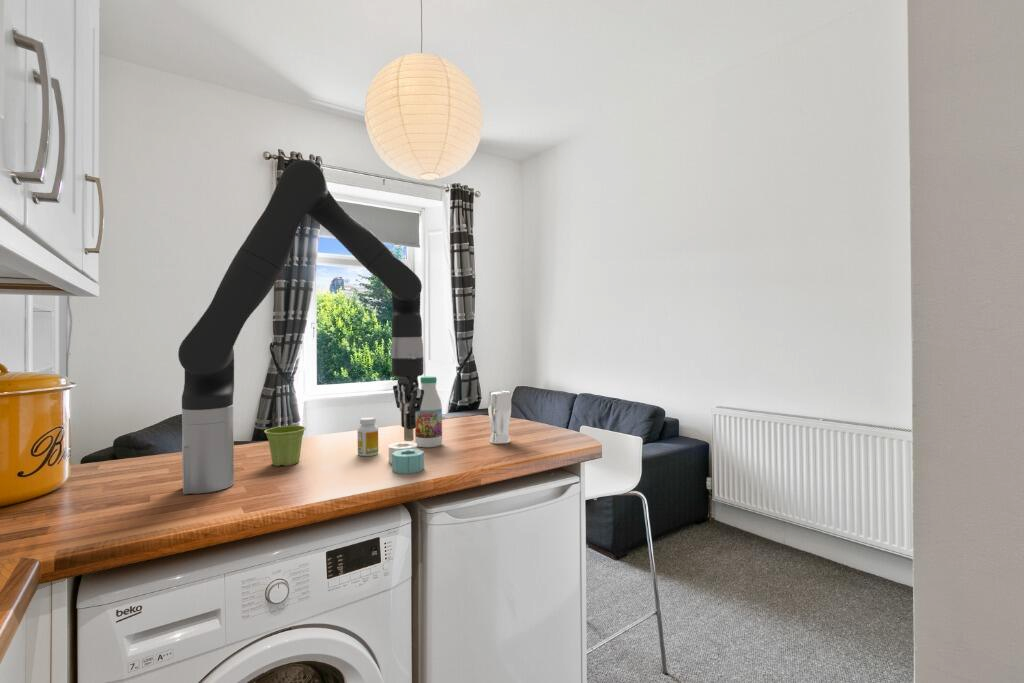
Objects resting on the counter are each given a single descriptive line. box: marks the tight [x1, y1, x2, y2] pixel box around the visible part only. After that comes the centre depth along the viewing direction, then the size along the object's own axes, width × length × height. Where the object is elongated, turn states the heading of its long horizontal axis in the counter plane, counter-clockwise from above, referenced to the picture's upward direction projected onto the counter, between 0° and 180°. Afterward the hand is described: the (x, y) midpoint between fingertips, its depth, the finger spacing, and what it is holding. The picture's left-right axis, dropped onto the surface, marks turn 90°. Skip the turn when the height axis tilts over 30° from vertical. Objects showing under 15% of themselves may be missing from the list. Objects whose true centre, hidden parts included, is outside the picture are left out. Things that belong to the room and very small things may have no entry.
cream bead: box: [388, 441, 418, 465], centre depth 124 cm, size 7×7×4 cm
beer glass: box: [487, 390, 512, 445], centre depth 144 cm, size 7×7×15 cm
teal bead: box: [391, 448, 425, 474], centre depth 116 cm, size 7×7×4 cm
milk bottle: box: [414, 375, 443, 448], centre depth 141 cm, size 8×8×20 cm
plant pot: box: [263, 425, 306, 467], centre depth 121 cm, size 9×9×9 cm
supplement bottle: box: [357, 416, 379, 457], centre depth 130 cm, size 5×5×10 cm
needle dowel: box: [403, 399, 415, 442], centre depth 116 cm, size 2×2×11 cm
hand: (408, 427), depth 116 cm, fingers closed on needle dowel, 2 cm apart
